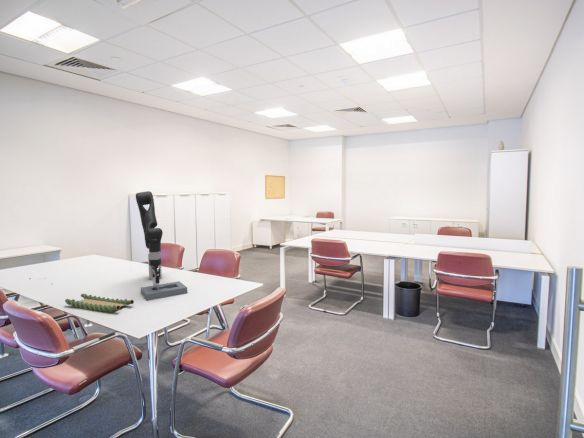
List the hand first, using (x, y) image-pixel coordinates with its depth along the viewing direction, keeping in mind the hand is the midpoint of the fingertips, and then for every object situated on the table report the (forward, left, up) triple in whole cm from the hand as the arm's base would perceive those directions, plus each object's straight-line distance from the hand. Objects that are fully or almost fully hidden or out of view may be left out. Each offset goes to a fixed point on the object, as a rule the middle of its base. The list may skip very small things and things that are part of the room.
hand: (156, 281), depth 219 cm
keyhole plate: (0, +5, -9) cm, 10 cm away
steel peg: (0, 0, -9) cm, 9 cm away
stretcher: (+4, -34, -9) cm, 35 cm away
